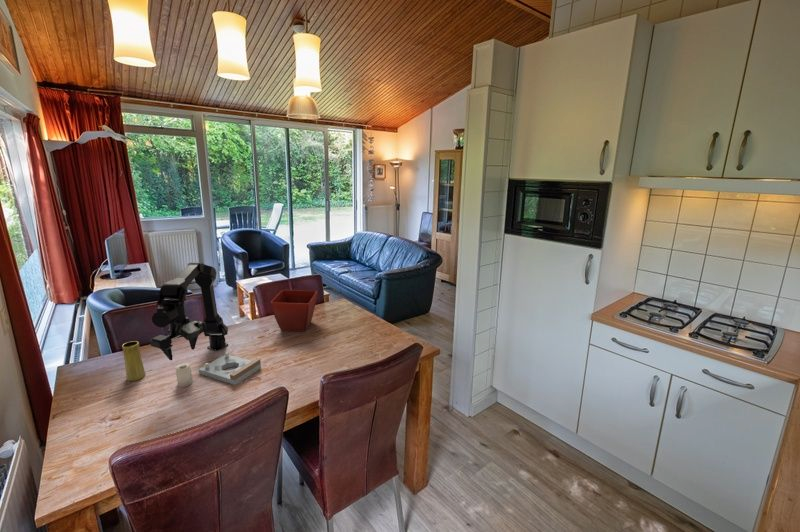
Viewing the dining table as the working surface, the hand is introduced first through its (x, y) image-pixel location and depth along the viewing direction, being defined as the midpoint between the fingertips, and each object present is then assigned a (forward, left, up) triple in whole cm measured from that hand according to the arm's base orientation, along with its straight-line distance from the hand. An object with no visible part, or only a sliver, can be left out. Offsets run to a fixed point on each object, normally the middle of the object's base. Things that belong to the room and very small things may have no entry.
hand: (182, 354), depth 141 cm
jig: (+8, +14, -12) cm, 20 cm away
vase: (-21, -5, -12) cm, 25 cm away
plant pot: (+5, +61, -12) cm, 62 cm away
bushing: (0, 0, -12) cm, 12 cm away
